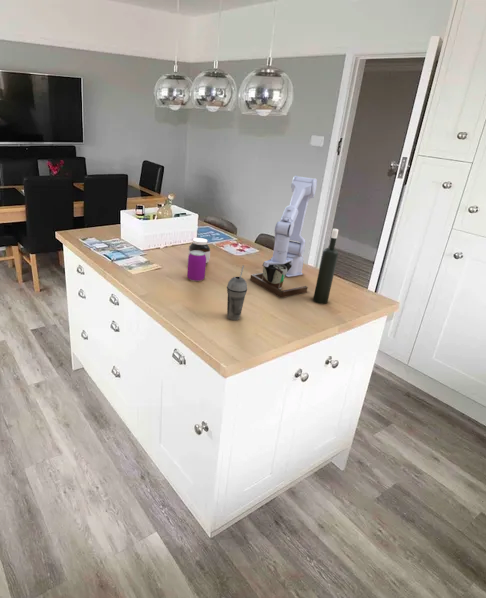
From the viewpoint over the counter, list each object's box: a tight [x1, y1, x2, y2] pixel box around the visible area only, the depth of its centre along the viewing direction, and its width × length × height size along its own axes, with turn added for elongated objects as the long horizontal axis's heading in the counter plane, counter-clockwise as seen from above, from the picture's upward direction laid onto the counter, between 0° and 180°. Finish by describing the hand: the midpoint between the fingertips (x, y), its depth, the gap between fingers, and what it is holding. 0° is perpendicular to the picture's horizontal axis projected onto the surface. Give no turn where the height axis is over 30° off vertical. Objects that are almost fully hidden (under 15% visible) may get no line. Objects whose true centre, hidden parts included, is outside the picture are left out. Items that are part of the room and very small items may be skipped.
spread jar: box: [187, 237, 211, 265], centre depth 196 cm, size 12×11×12 cm
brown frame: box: [249, 272, 309, 298], centre depth 180 cm, size 15×20×2 cm
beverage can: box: [186, 250, 207, 283], centre depth 179 cm, size 8×8×12 cm
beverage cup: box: [226, 265, 248, 321], centre depth 146 cm, size 7×7×20 cm
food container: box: [261, 262, 287, 291], centre depth 178 cm, size 12×6×10 cm, turn 36°
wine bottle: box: [312, 228, 340, 305], centre depth 163 cm, size 6×6×30 cm
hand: (275, 280), depth 179 cm, fingers closed on food container, 6 cm apart
